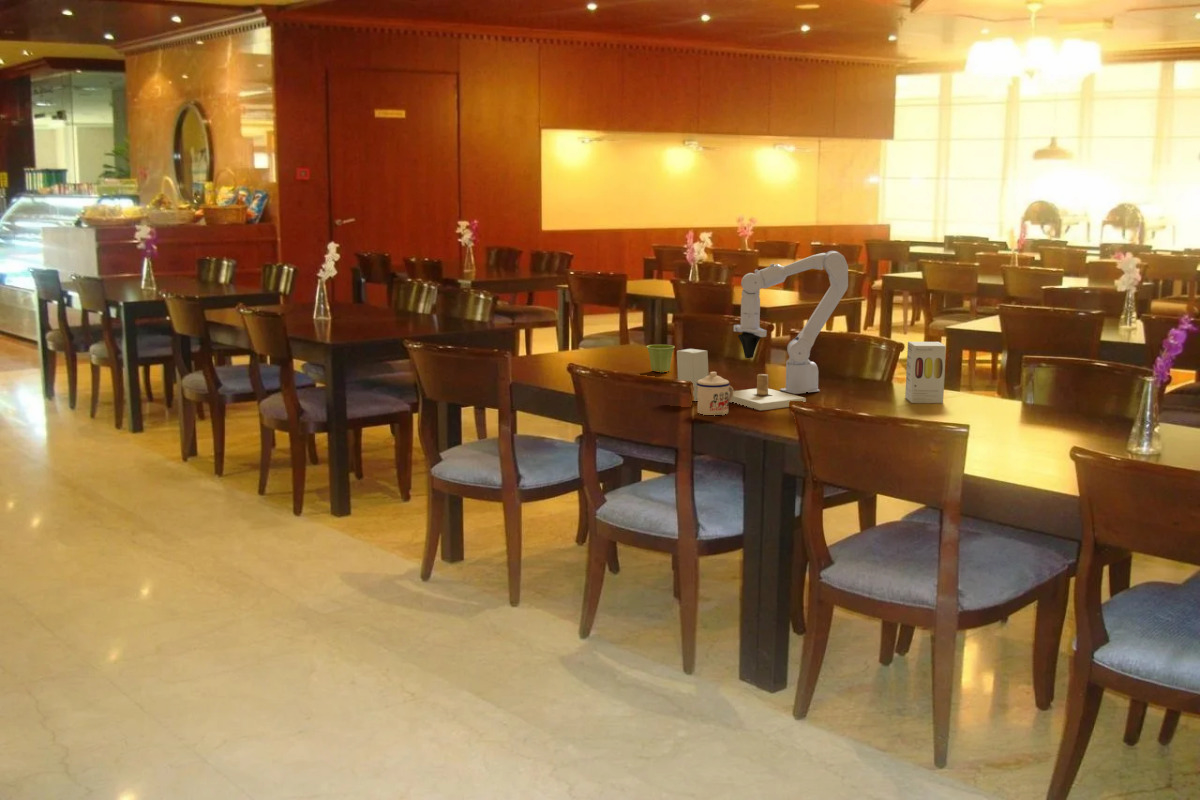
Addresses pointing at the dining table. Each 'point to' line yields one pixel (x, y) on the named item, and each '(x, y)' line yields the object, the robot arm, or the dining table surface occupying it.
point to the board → (764, 399)
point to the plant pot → (660, 357)
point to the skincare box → (692, 367)
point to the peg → (762, 385)
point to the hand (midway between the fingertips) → (749, 357)
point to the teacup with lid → (713, 395)
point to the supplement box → (925, 372)
